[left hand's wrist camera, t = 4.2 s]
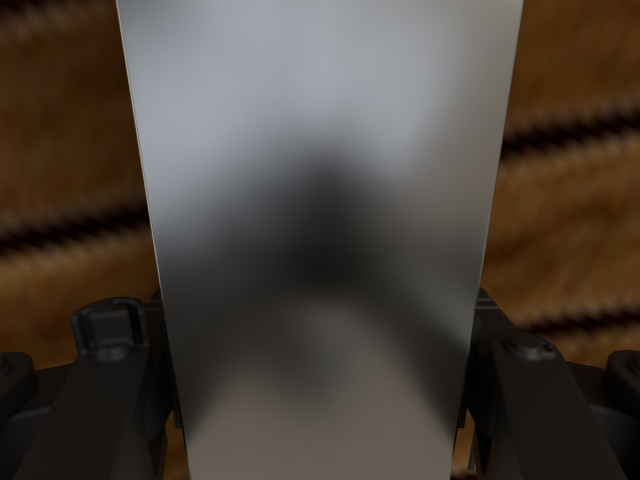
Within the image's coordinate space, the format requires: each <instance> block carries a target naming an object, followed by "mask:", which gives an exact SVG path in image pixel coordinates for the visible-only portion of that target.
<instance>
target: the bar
mask: <svg viewBox="0 0 640 480" xmlns="http://www.w3.org/2000/svg"><path fill="white" fill-rule="evenodd" d="M116 6H117V13H118V19H119V26H120V32H121V39H122V45H123V51H124V58H125V64H126V71H127V77H128V84H129V90H130V96H131V103H132V109H133V116H134V122H135V129H136V135H137V142H138V148H139V154H140V161H141V167H142V174H143V180H144V187H145V193H146V199H147V206H148V212H149V219H150V225H151V232H152V238H153V244H154V251H155V257H156V264H157V270H158V277H159V283H160V290H161V296H162V302H163V309H164V315H165V322H166V328H167V335H168V341H169V347H170V354H171V360H172V367H173V373H174V380H175V386H176V392H177V399H178V405H179V412H180V418H181V425H182V431H183V438H184V444H185V450H186V457H187V463H188V470H189V476H190V480H450V474H451V468H452V462H453V455H454V449H455V442H456V436H457V429H458V423H459V417H460V410H461V404H462V397H463V391H464V385H465V378H466V372H467V365H468V359H469V352H470V346H471V340H472V333H473V327H474V320H475V314H476V308H477V301H478V295H479V288H480V282H481V275H482V269H483V263H484V256H485V250H486V243H487V237H488V231H489V224H490V218H491V211H492V205H493V198H494V192H495V186H496V179H497V173H498V166H499V160H500V154H501V147H502V141H503V134H504V128H505V122H506V115H507V109H508V102H509V96H510V89H511V83H512V77H513V70H514V64H515V57H516V51H517V45H518V38H519V32H520V25H521V19H522V12H523V6H524V0H116Z"/></svg>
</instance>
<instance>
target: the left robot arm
mask: <svg viewBox="0 0 640 480" xmlns="http://www.w3.org/2000/svg"><path fill="white" fill-rule="evenodd" d="M69 318H70V322H71V326H72V330H73V334H74V338H75V342H76V346H77V350H78V356H77V358H76V360H75V362H74V363H71V364H67V365H62V366H57V367H52V368H47V369H42V370H36V371H35V368H34V365H33V361H32V358H31V357H30V356H29V355H27V354H26V353H21V352H7V353H0V480H163V474H164V467H165V459H166V452H167V444H168V442H167V434H166V429H165V424H166V422H167V419H168V417H169V415H170V413H171V411H172V409H173V414H174V420H175V426H176V428H182V425H181V418H180V412H179V405H178V399H177V392H176V386H175V380H174V373H173V367H172V360H171V354H170V347H169V341H168V335H167V328H166V322H165V315H164V309H163V302H162V296H161V290H160V289H158V290H157V291H156V292H155V293H154V294H153V295H152V297H151V298H150V299H149V300H148V302H146V304H145V305H144V303H143V302H141V301H140V300H139V299H136V298H131V297H114V298H109V299H103V300H99V301H97V302H94V303H91V304H88V305H86V306H84V307H82V308H81V309H79V310H77V311H76V312H75V313H74V314H73V315H72V316H71V317H69ZM467 407H468V410H469V412H470V414H471V416H472V418H473V420H474V422H475V429H474V434H473V440H472V446H471V452H470V457H469V464H468V470H473V469H474V463H475V466H476V473H477V480H640V351H633V350H620V351H614V352H613V353H612V354H610V355H609V357H608V360H607V363H606V367H605V369H603V368H597V367H592V366H587V365H582V364H576V363H572V362H568V361H565V359H564V357H563V356H562V354H561V353H560V351H559V350H558V349H557V348H556V347H555V346H554V345H553V344H551V343H550V342H548V341H547V340H545V339H543V338H541V337H538V336H536V335H533V334H530V333H526V332H521V331H518V329H517V328H516V327H515V326H514V325H513V324H512V322H511V321H510V320H509V319H508V318H507V316H506V315H505V314H504V313H503V312H502V311H501V309H498V306H497V305H496V303H495V302H494V301H492V299H491V298H490V296H489V295H488V294H487V293H486V292H485V290H484V289H482V288H481V287H480V288H479V295H478V301H477V308H476V314H475V320H474V327H473V333H472V340H471V346H470V352H469V359H468V365H467V372H466V378H465V385H464V391H463V397H462V404H461V410H460V417H459V423H458V428H464V424H465V418H466V412H467Z"/></svg>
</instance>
